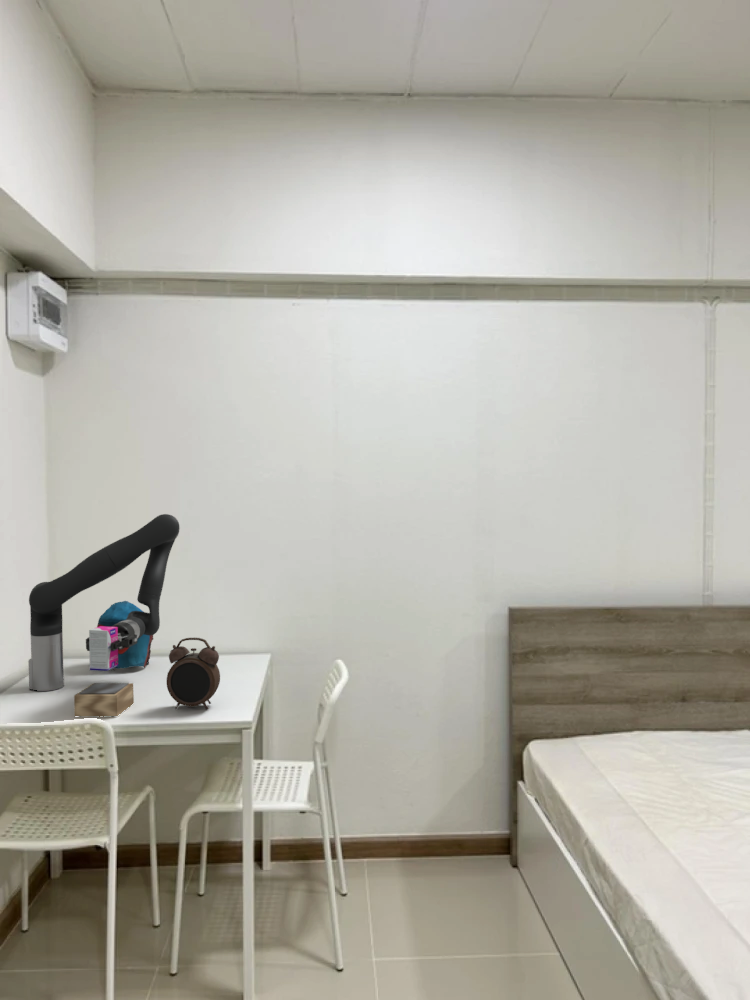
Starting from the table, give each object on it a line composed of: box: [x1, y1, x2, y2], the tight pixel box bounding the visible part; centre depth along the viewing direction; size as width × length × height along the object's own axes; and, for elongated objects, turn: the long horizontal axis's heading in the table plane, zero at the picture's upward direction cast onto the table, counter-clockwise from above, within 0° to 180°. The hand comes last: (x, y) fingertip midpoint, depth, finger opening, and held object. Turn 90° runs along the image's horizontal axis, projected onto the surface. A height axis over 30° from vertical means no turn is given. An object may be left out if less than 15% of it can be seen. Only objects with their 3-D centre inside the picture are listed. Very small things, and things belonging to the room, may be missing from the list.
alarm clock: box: [166, 637, 221, 710], centre depth 209 cm, size 14×7×20 cm, turn 87°
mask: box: [96, 600, 154, 671], centre depth 255 cm, size 18×20×25 cm
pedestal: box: [73, 682, 135, 718], centre depth 208 cm, size 12×12×6 cm
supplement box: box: [88, 626, 118, 672], centre depth 208 cm, size 6×6×12 cm
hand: (100, 647), depth 205 cm, fingers closed on supplement box, 6 cm apart
